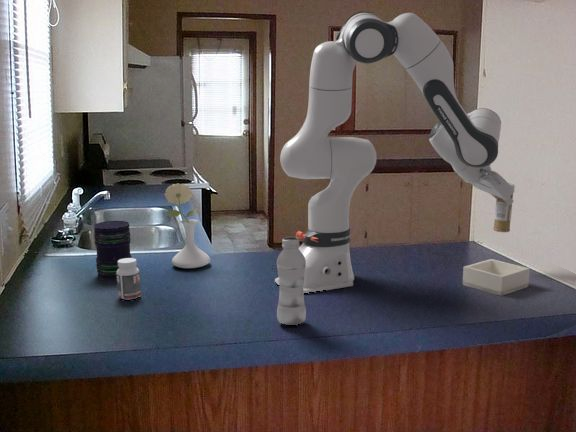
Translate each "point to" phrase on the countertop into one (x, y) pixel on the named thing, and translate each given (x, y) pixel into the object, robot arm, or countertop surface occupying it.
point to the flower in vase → (190, 253)
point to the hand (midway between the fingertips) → (506, 201)
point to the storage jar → (111, 247)
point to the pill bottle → (128, 279)
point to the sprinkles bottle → (502, 214)
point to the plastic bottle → (291, 283)
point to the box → (496, 277)
